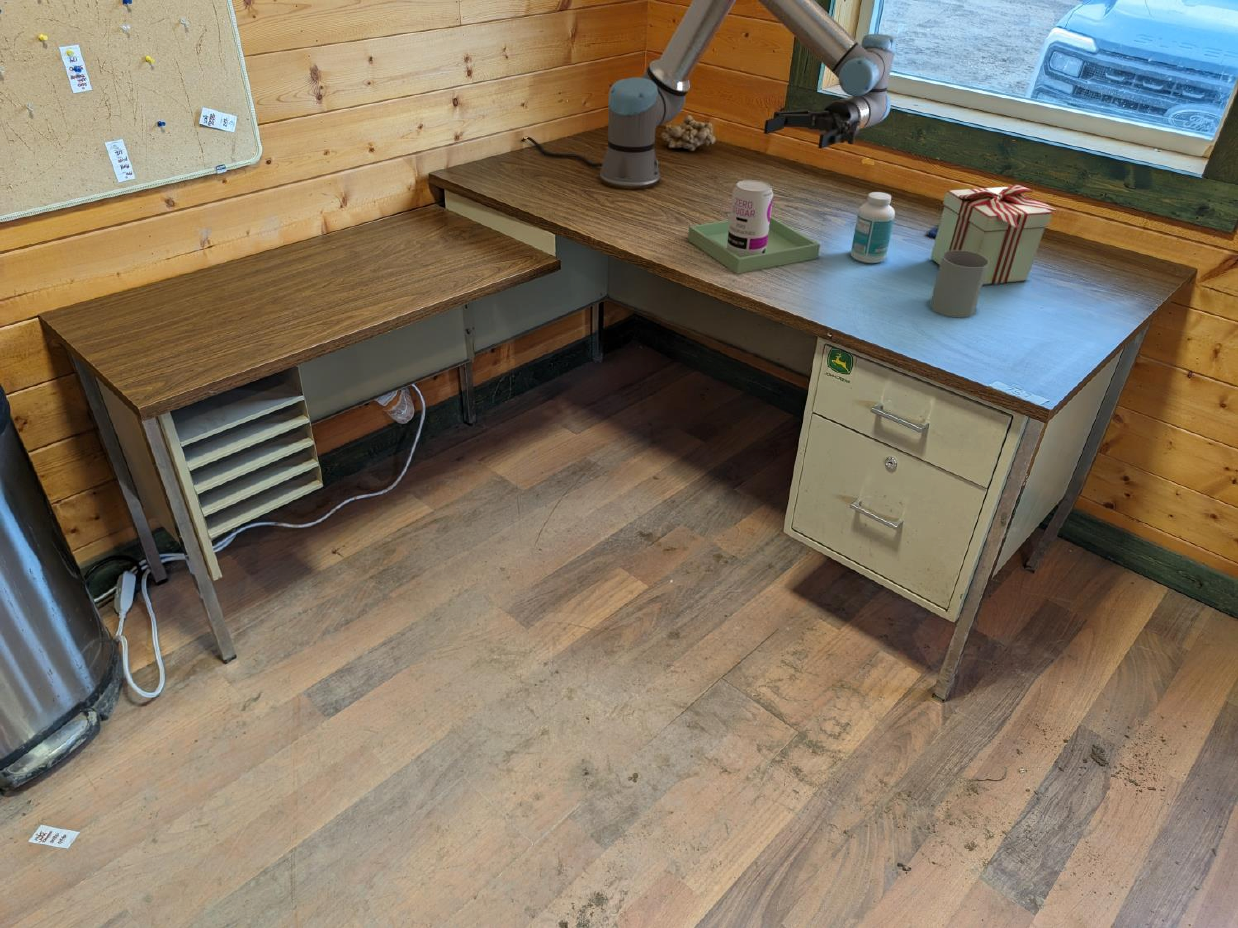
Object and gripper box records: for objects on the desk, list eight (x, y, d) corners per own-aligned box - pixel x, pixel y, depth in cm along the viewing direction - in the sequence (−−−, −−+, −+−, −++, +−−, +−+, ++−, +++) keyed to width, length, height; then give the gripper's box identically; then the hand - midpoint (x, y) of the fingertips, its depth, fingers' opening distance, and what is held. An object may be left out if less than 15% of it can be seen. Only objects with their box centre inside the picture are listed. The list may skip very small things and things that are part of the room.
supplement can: (764, 250, 189) (773, 180, 181) (765, 265, 183) (775, 193, 174) (726, 247, 190) (733, 177, 181) (726, 262, 183) (733, 191, 174)
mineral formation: (687, 138, 258) (728, 146, 249) (657, 154, 251) (698, 163, 242) (685, 110, 253) (726, 117, 244) (654, 126, 246) (695, 134, 237)
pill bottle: (886, 254, 191) (900, 192, 183) (883, 267, 186) (897, 203, 178) (851, 248, 193) (864, 187, 185) (847, 261, 187) (859, 198, 180)
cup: (923, 298, 173) (935, 250, 168) (963, 298, 174) (977, 250, 168) (939, 317, 167) (953, 268, 161) (981, 317, 167) (996, 268, 162)
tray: (687, 240, 194) (689, 226, 192) (765, 226, 202) (766, 213, 200) (737, 273, 180) (738, 259, 178) (817, 258, 188) (820, 244, 186)
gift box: (981, 295, 175) (1006, 211, 165) (923, 260, 189) (943, 180, 179) (1048, 285, 181) (1076, 202, 171) (987, 251, 194) (1009, 173, 184)
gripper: (890, 146, 194) (841, 166, 181) (795, 122, 207) (742, 139, 194) (898, 111, 190) (848, 129, 177) (800, 88, 203) (746, 103, 190)
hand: (792, 134), depth 186 cm, fingers open, 13 cm apart
